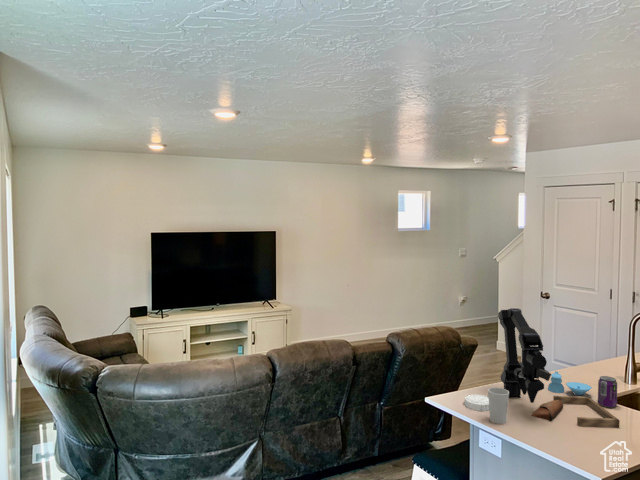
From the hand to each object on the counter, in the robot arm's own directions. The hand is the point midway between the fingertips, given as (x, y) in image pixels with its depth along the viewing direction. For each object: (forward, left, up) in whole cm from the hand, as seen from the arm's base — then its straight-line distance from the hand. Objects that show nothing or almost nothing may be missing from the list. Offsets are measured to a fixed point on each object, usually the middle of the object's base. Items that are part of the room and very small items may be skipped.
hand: (528, 398), depth 198 cm
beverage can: (+37, +11, -6) cm, 39 cm away
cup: (-15, -10, -6) cm, 19 cm away
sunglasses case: (+8, +1, -6) cm, 10 cm away
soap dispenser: (+27, +25, -6) cm, 37 cm away
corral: (+22, 0, -6) cm, 23 cm away
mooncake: (-19, +5, -6) cm, 21 cm away
